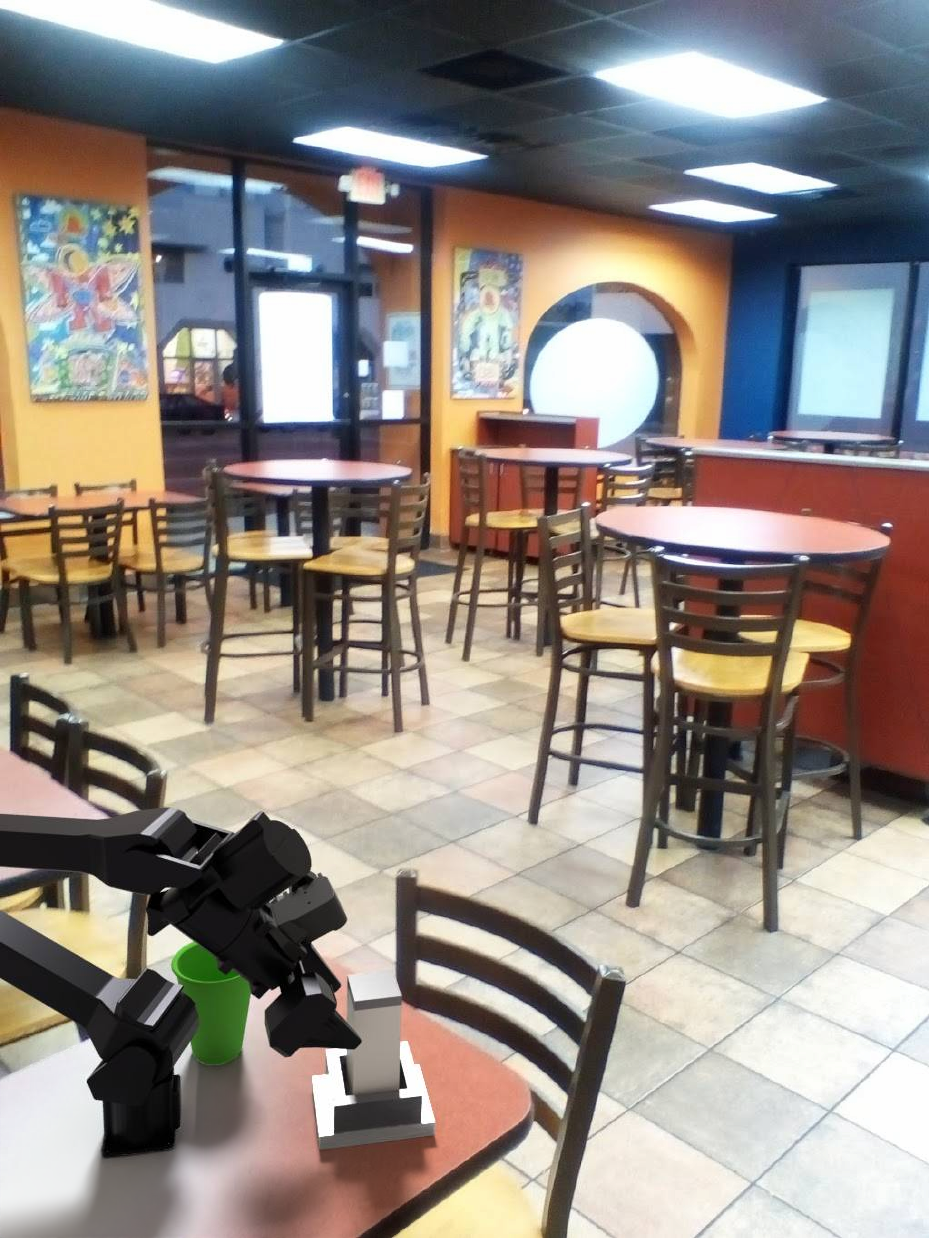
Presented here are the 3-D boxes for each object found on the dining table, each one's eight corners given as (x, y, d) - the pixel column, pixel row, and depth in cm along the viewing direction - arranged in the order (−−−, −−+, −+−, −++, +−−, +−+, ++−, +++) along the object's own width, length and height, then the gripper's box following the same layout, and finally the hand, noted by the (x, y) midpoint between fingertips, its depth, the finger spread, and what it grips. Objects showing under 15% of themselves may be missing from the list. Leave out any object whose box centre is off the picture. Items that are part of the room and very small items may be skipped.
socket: (319, 1149, 95) (320, 1108, 94) (312, 1089, 103) (312, 1050, 102) (434, 1135, 97) (436, 1094, 96) (418, 1076, 106) (419, 1038, 105)
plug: (352, 1117, 97) (354, 1001, 95) (345, 1086, 102) (347, 974, 99) (398, 1110, 98) (401, 995, 96) (389, 1080, 103) (392, 969, 100)
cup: (158, 1046, 109) (155, 954, 106) (233, 1014, 115) (232, 926, 112) (199, 1090, 102) (197, 993, 100) (276, 1054, 108) (276, 961, 106)
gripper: (311, 911, 83) (434, 1009, 89) (278, 819, 101) (383, 907, 106) (214, 1010, 83) (345, 1103, 88) (197, 901, 100) (308, 984, 106)
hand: (347, 1015), depth 97 cm, fingers open, 9 cm apart
